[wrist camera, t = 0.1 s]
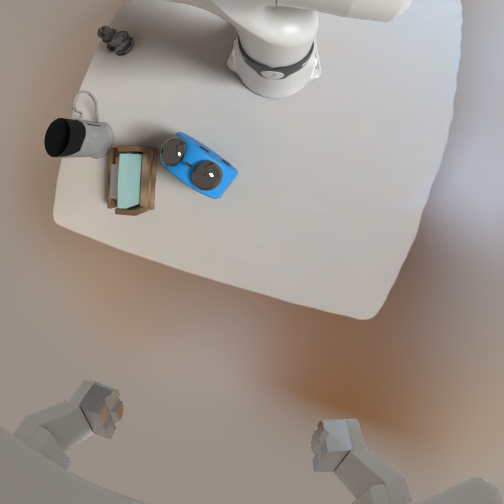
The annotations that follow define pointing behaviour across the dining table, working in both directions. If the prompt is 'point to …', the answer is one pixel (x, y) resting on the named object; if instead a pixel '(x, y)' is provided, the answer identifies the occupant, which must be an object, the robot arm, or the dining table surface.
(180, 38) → the dining table surface
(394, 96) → the dining table surface
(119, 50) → the dark grey figurine
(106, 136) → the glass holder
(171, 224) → the dining table surface
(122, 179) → the panel
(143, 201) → the rack
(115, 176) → the grey offcut
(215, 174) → the alarm clock
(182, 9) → the dining table surface
